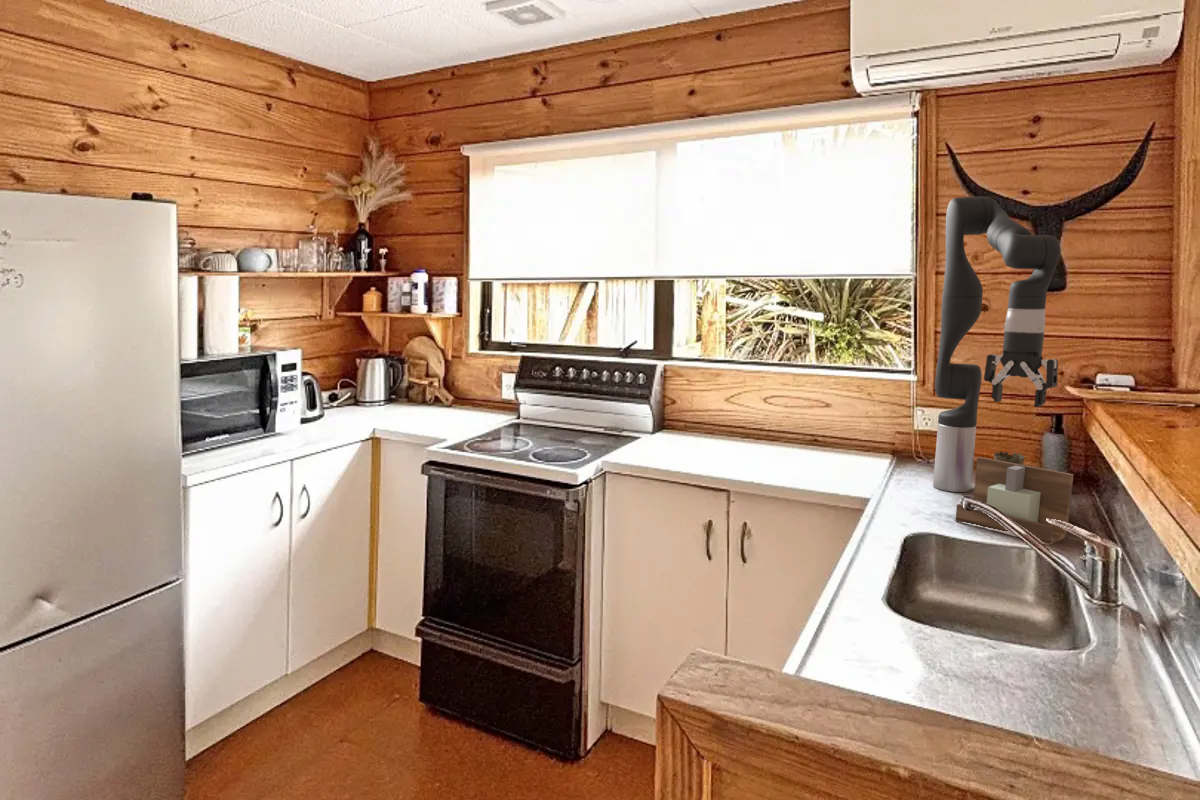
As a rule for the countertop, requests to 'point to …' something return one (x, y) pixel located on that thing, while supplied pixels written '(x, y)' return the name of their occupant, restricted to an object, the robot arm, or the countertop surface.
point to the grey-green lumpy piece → (1009, 457)
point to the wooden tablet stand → (1036, 479)
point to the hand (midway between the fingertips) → (1017, 404)
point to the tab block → (1015, 496)
